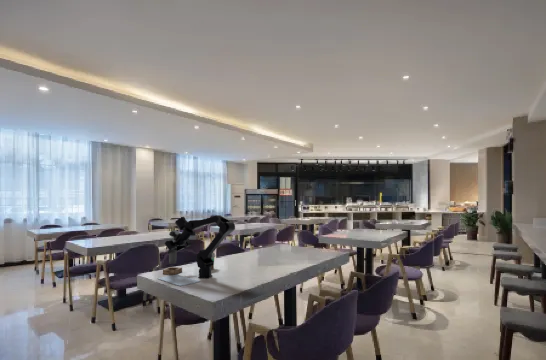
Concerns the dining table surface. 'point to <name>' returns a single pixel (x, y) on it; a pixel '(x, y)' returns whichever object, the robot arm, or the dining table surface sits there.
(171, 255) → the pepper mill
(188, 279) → the placemat
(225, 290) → the dining table surface
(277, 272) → the dining table surface
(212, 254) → the food container
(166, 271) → the walnut holder
